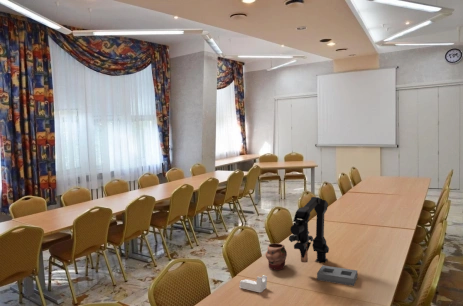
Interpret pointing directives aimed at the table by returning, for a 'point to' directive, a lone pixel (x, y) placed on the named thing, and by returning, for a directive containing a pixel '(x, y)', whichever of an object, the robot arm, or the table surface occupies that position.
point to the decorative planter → (276, 256)
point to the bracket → (254, 284)
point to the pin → (305, 257)
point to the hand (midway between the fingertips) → (304, 256)
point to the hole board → (337, 275)
